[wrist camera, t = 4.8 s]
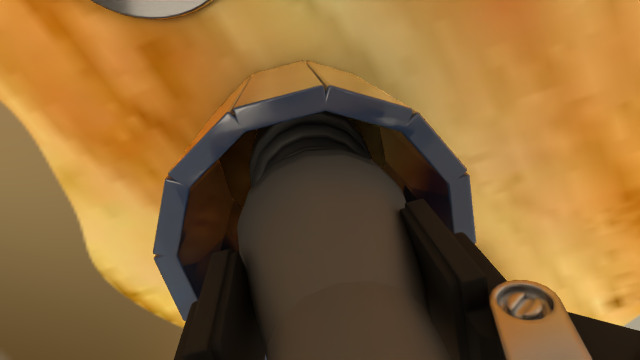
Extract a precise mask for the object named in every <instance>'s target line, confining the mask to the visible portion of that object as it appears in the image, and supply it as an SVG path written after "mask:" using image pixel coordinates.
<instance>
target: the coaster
mask: <svg viewBox="0 0 640 360" xmlns="http://www.w3.org/2000/svg"><path fill="white" fill-rule="evenodd" d="M91 1H93V2H94V3H96V4H98V5H100V6H102V7H104V8H106V9H108V10H111V11H114V12H117V13H120V14H122V15H127V16H131V17H135V18H144V19H171V18H176V17H182V16H184V15H187V14H190V13H193V12H195V11H197V10H199V9H201V8H203V7H205V6H206V5H208V4H209V3H211V2H212V1H213V0H91Z"/></svg>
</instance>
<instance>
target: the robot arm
mask: <svg viewBox="0 0 640 360" xmlns="http://www.w3.org/2000/svg"><path fill="white" fill-rule="evenodd" d="M400 215H401V217H402V219H403V222H404V224H405V226H406V228H407V231H408V233H409V235H410V238H411V241H412V244H413V247H414V251H415V254H416V257H417V260H418V263H419V267H420V270H421V273H422V276H423V279H424V284H425V289H426V294H427V299H428V304H429V309H430V314H431V319H432V323H433V325H434V326H435V328H436V330H437V332H438V334H439V336H440V338H441V340H442V342H443V344H444V346H445V348H446V350H447V351H448V353H449V355H450V357H451V359H452V360H640V331H638V330H634V329H630V328H626V327H623V326H619V325H615V324H611V323H607V322H604V321H600V320H596V319H592V318H589V317H585V316H581V315H577V314H573V313H570V312H567V311H566V309H565V307H564V305H563V304H562V302H561V300H560V298H559V297H558V296H557V295H556V293H555V292H553V291H552V290H551V289H549V288H548V287H546V286H544V285H541V284H539V283H536V282H532V281H527V280H513V281H506V280H505V278H504V277H503V276H502V275H501V274H500V273H499V272H498V270H497V269H496V268H495V267H494V266H493V265H492V264H491V263H490V261H489V260H488V259H487V258H486V257H485V256H484V255H483V253H482V252H481V251H480V250H479V249H478V248H477V247H476V245H475V244H474V243H473V242H472V241H471V240H470V239H469V237H468V236H467V235H466V234H465V233H463V232H459V233H455V234H452V233H451V232H450V231H449V229H448V228H447V227H446V226H445V225H444V223H443V222H442V221H441V220H440V218H439V217H438V216H437V215H436V214H435V212H434V211H433V210H432V209H431V207H430V206H429V205H428V204H427V203H426V201H425V200H424V199H419V200H415V201H411V202H407V203H405V208H403V209H400ZM174 360H265V350H264V346H263V342H262V339H261V335H260V331H259V327H258V323H257V319H256V315H255V312H254V308H253V304H252V300H251V296H250V289H249V284H248V278H247V272H246V268H245V265H244V263H243V260H242V258H241V255H240V253H239V252H233V251H232V249H228V250H224V251H220V252H216V253H213V254H212V256H211V259H210V262H209V266H208V269H207V272H206V276H205V279H204V283H203V286H202V289H201V293H200V296H199V300H198V301H195V302H193V303H192V305H191V307H190V310H189V313H188V316H187V319H186V323H185V326H184V329H183V333H182V335H181V338H180V342H179V345H178V348H177V351H176V354H175V358H174Z"/></svg>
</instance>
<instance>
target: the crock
mask: <svg viewBox="0 0 640 360" xmlns="http://www.w3.org/2000/svg"><path fill="white" fill-rule="evenodd" d="M324 111H326V112H330V113H334V114H337V115H341V116H345V117H348V118H352V119H356V120H359V121H363V122H367V123H370V124H374V125H377V126H379V129H380V134H381V140H382V145H383V150H384V156H385V163H384V166H383V170H384V171H385V172H386V173H387V174H388V175H389V176H390V177H391V178H392V179H393V180H394V181H395V182H396V183H397V184H398V186H399V187H400V188H401V190H402V193H403V195H404V198H405V201H406V203H407V202H411V201H415V200H419V199H424V200H425V201H426V203H427V204H428V205H429V206H430V207H431V209H432V210H433V211H434V212H435V214H436V215H437V216H438V217H439V218H440V220H441V221H442V222H443V223H444V225H445V226H446V227H447V228H448V229H449V231H450V232H451V233H452V234H455V233H459V232H463V233H465V234H466V235H467V236H468V237H469V239H470V240H471V241H472V242H473V243H474V244H475V243H476V236H475V226H474V216H473V206H472V196H471V186H470V176H469V174H467V173H466V171H467V169H466V167H465V166H464V165H463V164H462V163H461V161H460V160H459V159H458V158H457V157H456V156H455V154H454V153H453V152H452V151H451V150H450V149H449V147H448V146H447V145H446V144H445V143H444V142H443V140H442V139H441V138H440V137H439V136H438V135H437V133H436V132H435V131H434V130H433V129H432V128H431V126H430V125H429V124H428V123H427V122H426V121H425V119H424V118H423V117H422V116H421V115H420V113H418V112H417V111H415V110H413V109H412V108H410V107H409V106H407V105H405V104H404V103H402V102H400V101H399V100H397V99H395V98H393V97H392V96H390V95H388V94H387V93H385V92H383V91H382V90H380V89H378V88H376V87H375V86H373V85H371V84H370V83H368V82H366V81H365V80H363V79H361V78H360V77H358V76H356V75H354V74H351V73H348V72H345V71H341V70H338V69H335V68H331V67H328V66H324V65H321V64H318V63H314V62H311V61H306V63H305V62H304V61H303V60H302V61H298V62H295V63H291V64H287V65H283V66H279V67H276V68H272V69H268V70H264V71H260V72H257V73H254V74H253V76H251V75H250V76H249V77H248V78H247V79H246V80H245V81H244V82H243V83H242V84H241V85H240V87H239V88H238V89H237V90H236V91H235V92H234V93H233V94H232V95H231V96H230V97H229V98H228V99H227V100H226V101H225V102H224V103H223V104H222V105H221V106H220V108H219V109H218V110H217V111H216V112H215V113H214V115H213V116H212V117H211V118H210V120H209V121H208V122H207V124H206V125H205V126H204V127H203V129H202V130H201V131H200V133H199V134H198V135H197V136H196V138H195V139H194V140H193V142H192V143H191V144H190V145H189V147H188V148H187V149H186V151H185V152H184V153H183V154H182V156H181V157H180V158H179V160H178V161H177V162H176V163H175V165H174V166H173V167H172V169H171V170H170V171H169V173H168V176H167V177H166V179H165V182H164V188H163V194H162V200H161V206H160V212H159V218H158V224H157V230H156V236H155V242H154V248H153V254H156V255H155V257H154V260H155V262H156V265H157V267H158V269H159V271H160V273H161V275H162V277H163V279H164V281H165V283H166V285H167V287H168V289H169V291H170V293H171V296H172V298H173V300H174V302H175V304H176V306H177V308H178V310H179V312H180V314H181V316H182V318H183V320H184V321H186V319H187V316H188V313H189V310H190V307H191V305H192V303H193V302H195V301H198V300H199V296H200V293H201V289H202V286H203V283H204V279H205V276H206V272H207V269H208V266H209V262H210V259H211V256H212V254H213V253H216V252H220V251H224V250H228V249H232V251H233V252H239V242H238V232H237V226H238V220H239V217H240V214H241V212H242V209H243V208H242V207H241V206H240V205H239V204H237V203H236V202H235V201H234V200H233V197H232V195H231V192H230V189H229V186H228V184H227V181H226V178H225V175H224V173H223V170H222V167H221V164H220V158H221V156H222V155H223V154H224V153H225V152H226V151H227V150H228V149H229V148H230V147H231V146H232V145H233V144H234V143H235V142H236V141H237V140H238V139H239V138H240V137H241V136H242V135H243V134H244V133H245V132H248V131H252V130H256V129H259V128H263V127H267V126H271V125H275V124H278V123H282V122H286V121H290V120H294V119H297V118H301V117H305V116H309V115H313V114H316V113H320V112H324ZM239 253H240V252H239ZM265 360H267V358H266V354H265Z"/></svg>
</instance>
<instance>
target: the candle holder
mask: <svg viewBox="0 0 640 360" xmlns="http://www.w3.org/2000/svg"><path fill="white" fill-rule="evenodd" d="M249 170H250V182H251V187H252V188H251V189H250V190H249V192H248V195H247V198H246V201H245V203H244V206H243V209H242V212H241V214H240V217H239V220H238V226H237V232H238V242H239V252H240V255H241V258H242V260H243V263H244V265H245V268H246V272H247V278H248V284H249V289H250V296H251V300H252V304H253V308H254V312H255V315H256V319H257V323H258V327H259V331H260V335H261V339H262V342H263V346H264V350H265V354H266V358H267V360H452V359H451V357H450V355H449V353H448V351H447V350H446V348H445V346H444V344H443V342H442V340H441V338H440V336H439V334H438V332H437V330H436V328H435V326H434V325H433V323H432V319H431V314H430V309H429V304H428V299H427V294H426V289H425V284H424V279H423V276H422V273H421V270H420V267H419V263H418V260H417V257H416V254H415V251H414V247H413V244H412V241H411V238H410V235H409V233H408V231H407V228H406V226H405V224H404V222H403V219H402V217H401V215H400V209H403V208H405V203H406V201H405V198H404V195H403V193H402V190H401V188H400V187H399V186H398V184H397V183H396V182H395V181H394V180H393V179H392V178H391V177H390V176H389V175H388V174H387V173H386V172H385V171H384V170H383V169H382V168H380V167H379V166H378V165H377V164H376V163H375V162H374V161H373V160H371V156H370V154H369V151H368V149H367V146H366V144H365V141H364V138H363V136H362V135H361V134H360V132H359V131H358V130H357V128H356V127H355V126H354V124H353V123H352V122H351V121H350V120H349V119H348V118H347V117H345V116H341V115H337V114H334V113H330V112H326V111H324V112H320V113H316V114H313V115H309V116H305V117H301V118H297V119H294V120H290V121H286V122H282V123H278V124H275V125H271V126H267V127H263V128H259V129H258V131H257V134H256V136H255V139H254V142H253V146H252V151H251V155H250V160H249Z"/></svg>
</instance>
